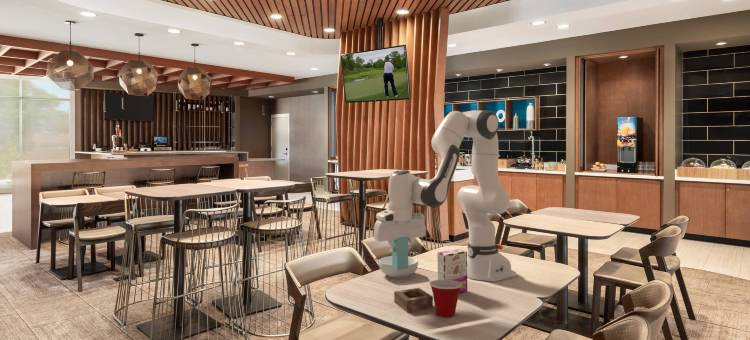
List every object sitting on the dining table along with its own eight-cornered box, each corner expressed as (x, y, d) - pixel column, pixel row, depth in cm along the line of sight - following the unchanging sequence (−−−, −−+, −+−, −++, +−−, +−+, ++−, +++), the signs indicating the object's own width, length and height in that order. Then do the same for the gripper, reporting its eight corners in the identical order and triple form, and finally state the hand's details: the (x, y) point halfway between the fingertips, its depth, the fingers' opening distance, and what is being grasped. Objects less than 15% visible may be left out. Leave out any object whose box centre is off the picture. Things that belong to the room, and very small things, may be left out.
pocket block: (419, 300, 173) (419, 287, 172) (432, 310, 163) (432, 296, 163) (394, 304, 169) (394, 291, 168) (406, 315, 160) (406, 301, 159)
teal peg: (402, 265, 178) (402, 234, 177) (408, 268, 174) (408, 237, 173) (392, 266, 176) (392, 235, 175) (397, 270, 172) (397, 238, 171)
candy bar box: (459, 288, 186) (460, 248, 184) (467, 292, 181) (468, 251, 180) (436, 293, 181) (436, 251, 179) (444, 297, 176) (444, 254, 175)
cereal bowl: (424, 273, 205) (424, 258, 205) (406, 284, 191) (406, 267, 191) (391, 268, 214) (391, 253, 214) (371, 277, 200) (371, 261, 200)
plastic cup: (461, 311, 162) (461, 278, 161) (462, 324, 152) (462, 288, 151) (430, 309, 164) (430, 276, 163) (428, 322, 154) (428, 286, 153)
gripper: (420, 210, 180) (420, 245, 181) (372, 214, 172) (372, 251, 173) (428, 213, 174) (428, 249, 175) (378, 217, 166) (378, 255, 167)
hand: (400, 250), depth 174 cm, fingers closed on teal peg, 4 cm apart
